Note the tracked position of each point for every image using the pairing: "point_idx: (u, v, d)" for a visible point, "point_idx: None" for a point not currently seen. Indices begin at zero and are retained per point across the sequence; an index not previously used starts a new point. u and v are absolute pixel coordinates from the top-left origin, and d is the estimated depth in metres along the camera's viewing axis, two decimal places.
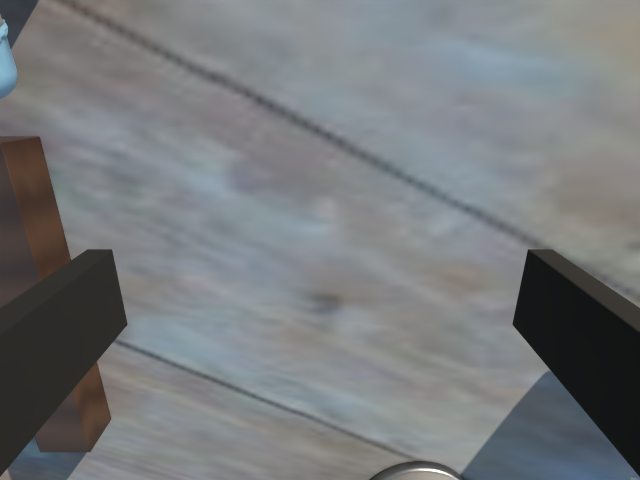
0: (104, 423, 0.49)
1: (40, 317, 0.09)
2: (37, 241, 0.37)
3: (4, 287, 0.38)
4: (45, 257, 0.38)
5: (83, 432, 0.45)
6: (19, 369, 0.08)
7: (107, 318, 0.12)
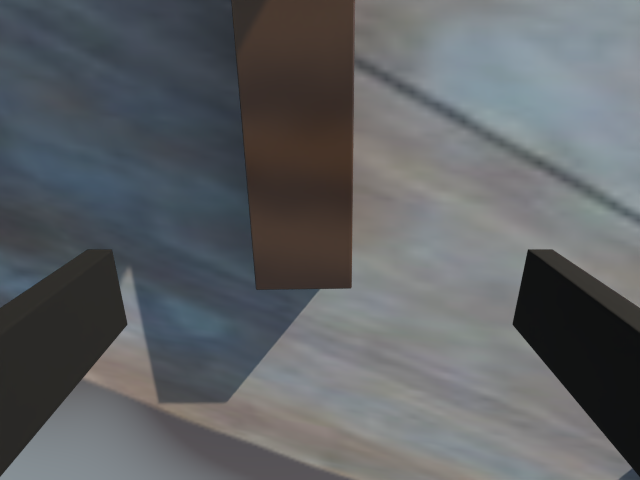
0: None
1: (40, 317, 0.09)
2: None
3: None
4: None
5: (349, 243, 0.23)
6: (19, 369, 0.08)
7: (107, 318, 0.12)
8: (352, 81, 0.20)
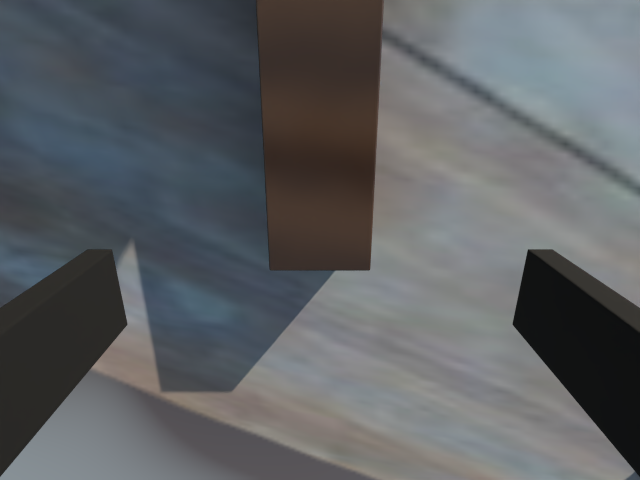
0: None
1: (40, 317, 0.09)
2: None
3: None
4: None
5: (370, 222, 0.22)
6: (19, 369, 0.08)
7: (107, 318, 0.12)
8: (380, 46, 0.19)
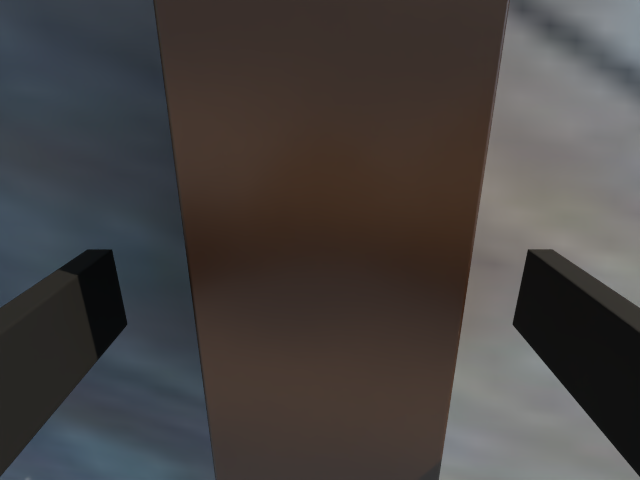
0: None
1: (40, 317, 0.09)
2: None
3: None
4: None
5: (445, 402, 0.09)
6: (19, 369, 0.08)
7: (107, 318, 0.12)
8: None
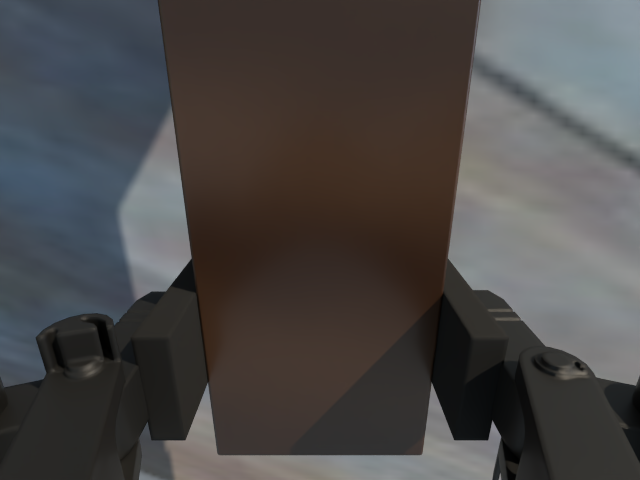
0: None
1: None
2: None
3: None
4: None
5: (428, 371, 0.10)
6: None
7: None
8: None
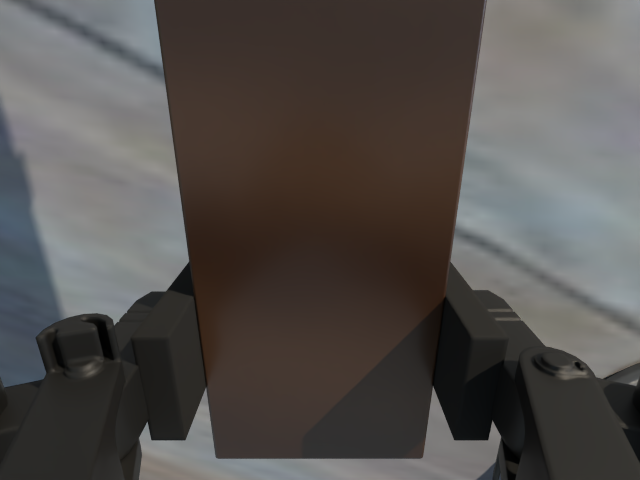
0: None
1: None
2: None
3: None
4: None
5: (430, 375, 0.10)
6: None
7: None
8: None
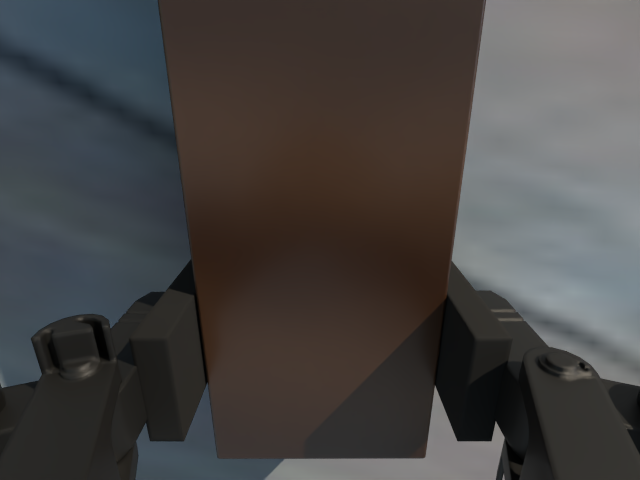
0: None
1: None
2: None
3: None
4: None
5: (431, 373, 0.10)
6: None
7: None
8: None
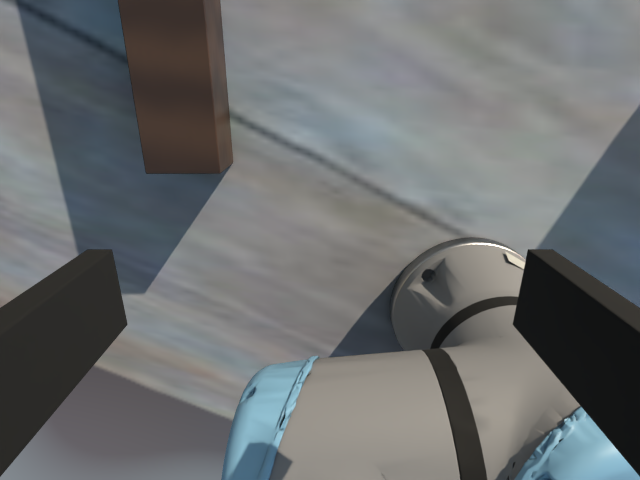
0: (228, 156, 0.34)
1: (40, 317, 0.09)
2: None
3: None
4: None
5: (214, 134, 0.30)
6: (19, 369, 0.08)
7: (107, 318, 0.12)
8: (203, 0, 0.27)
